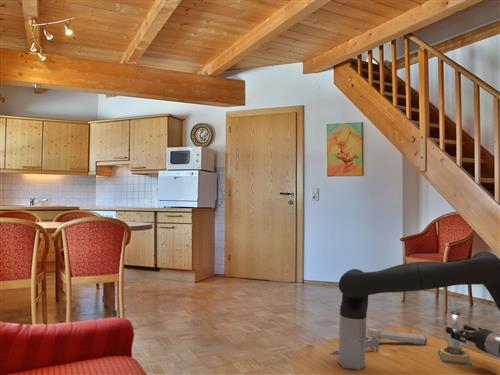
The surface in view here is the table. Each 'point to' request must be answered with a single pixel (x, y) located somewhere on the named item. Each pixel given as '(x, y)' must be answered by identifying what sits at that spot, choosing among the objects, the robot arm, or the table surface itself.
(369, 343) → the caliper
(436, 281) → the robot arm
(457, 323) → the grey bottle
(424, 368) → the table surface
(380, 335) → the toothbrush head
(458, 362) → the ring block
